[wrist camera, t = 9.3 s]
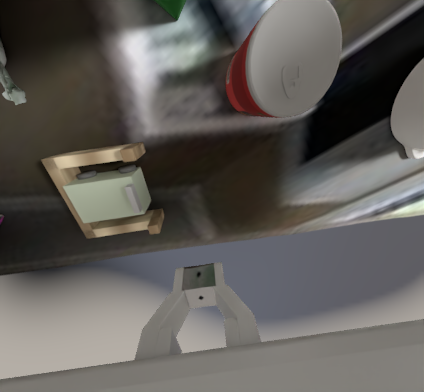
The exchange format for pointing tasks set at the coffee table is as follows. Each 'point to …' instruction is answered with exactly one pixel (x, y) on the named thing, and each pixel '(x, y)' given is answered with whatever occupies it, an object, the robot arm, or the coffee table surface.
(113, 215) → the pale green box
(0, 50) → the rose bouquet
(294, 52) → the canned food
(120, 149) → the frame
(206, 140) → the coffee table surface
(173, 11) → the milk carton
